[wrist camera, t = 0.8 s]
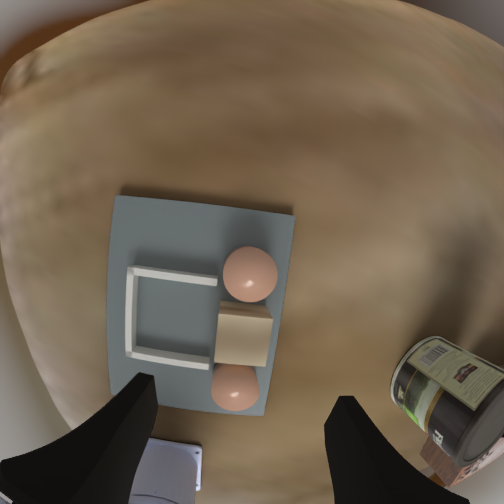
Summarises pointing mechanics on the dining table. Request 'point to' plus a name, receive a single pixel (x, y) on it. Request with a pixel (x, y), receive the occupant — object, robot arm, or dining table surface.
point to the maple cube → (243, 334)
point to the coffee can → (451, 397)
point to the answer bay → (131, 316)
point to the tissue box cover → (447, 466)
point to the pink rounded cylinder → (234, 386)
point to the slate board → (186, 290)
